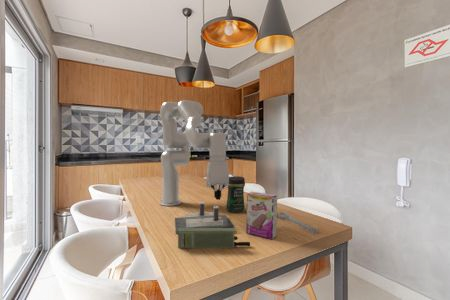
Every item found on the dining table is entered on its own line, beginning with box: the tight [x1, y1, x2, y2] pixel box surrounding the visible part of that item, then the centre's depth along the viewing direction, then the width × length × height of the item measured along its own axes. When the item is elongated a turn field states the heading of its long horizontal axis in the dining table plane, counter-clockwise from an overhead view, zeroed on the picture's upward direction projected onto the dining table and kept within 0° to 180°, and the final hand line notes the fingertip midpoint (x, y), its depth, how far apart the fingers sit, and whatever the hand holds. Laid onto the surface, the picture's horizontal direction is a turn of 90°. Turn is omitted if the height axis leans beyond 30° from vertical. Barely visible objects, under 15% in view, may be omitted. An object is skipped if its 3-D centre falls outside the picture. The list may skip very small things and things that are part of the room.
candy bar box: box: [245, 191, 278, 240], centre depth 88 cm, size 11×5×16 cm, turn 59°
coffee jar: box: [225, 175, 246, 213], centre depth 120 cm, size 10×8×19 cm
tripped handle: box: [199, 201, 205, 215], centre depth 102 cm, size 2×2×6 cm
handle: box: [213, 205, 220, 221], centre depth 95 cm, size 2×2×6 cm
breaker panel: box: [174, 211, 235, 235], centre depth 98 cm, size 15×24×4 cm, turn 104°
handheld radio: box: [177, 227, 251, 249], centre depth 78 cm, size 7×3×25 cm
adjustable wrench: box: [277, 211, 319, 234], centre depth 102 cm, size 25×6×2 cm, turn 18°
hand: (217, 199), depth 103 cm, fingers closed
